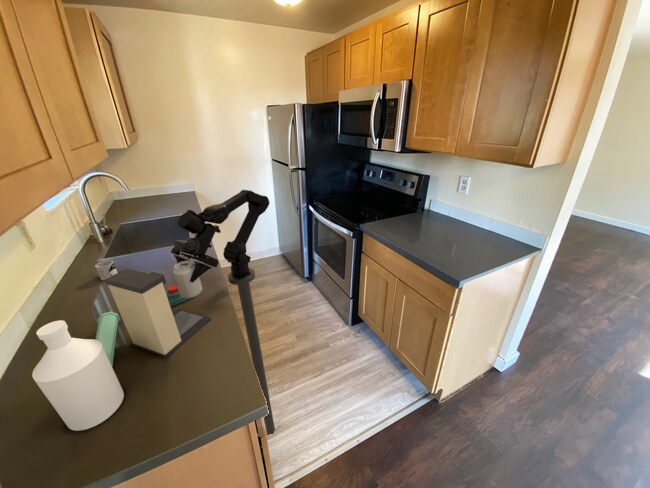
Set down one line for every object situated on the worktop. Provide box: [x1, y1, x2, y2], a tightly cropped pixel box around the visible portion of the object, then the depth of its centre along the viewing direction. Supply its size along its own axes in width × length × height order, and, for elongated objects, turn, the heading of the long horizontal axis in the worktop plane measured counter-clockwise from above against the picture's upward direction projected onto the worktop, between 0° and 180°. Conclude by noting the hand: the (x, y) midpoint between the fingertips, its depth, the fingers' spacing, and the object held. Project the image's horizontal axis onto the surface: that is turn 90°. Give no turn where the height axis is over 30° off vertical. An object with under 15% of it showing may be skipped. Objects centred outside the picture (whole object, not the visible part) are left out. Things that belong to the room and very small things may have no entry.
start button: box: [167, 284, 179, 294], centre depth 107 cm, size 4×4×2 cm
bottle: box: [31, 319, 125, 432], centre depth 63 cm, size 12×12×25 cm
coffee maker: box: [103, 268, 212, 359], centre depth 86 cm, size 18×15×24 cm
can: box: [172, 260, 203, 299], centre depth 97 cm, size 8×8×12 cm
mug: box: [94, 259, 119, 281], centre depth 127 cm, size 10×7×7 cm
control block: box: [165, 289, 194, 307], centre depth 108 cm, size 10×9×4 cm
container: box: [94, 311, 121, 367], centre depth 85 cm, size 6×6×25 cm
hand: (184, 279), depth 96 cm, fingers closed on can, 7 cm apart
